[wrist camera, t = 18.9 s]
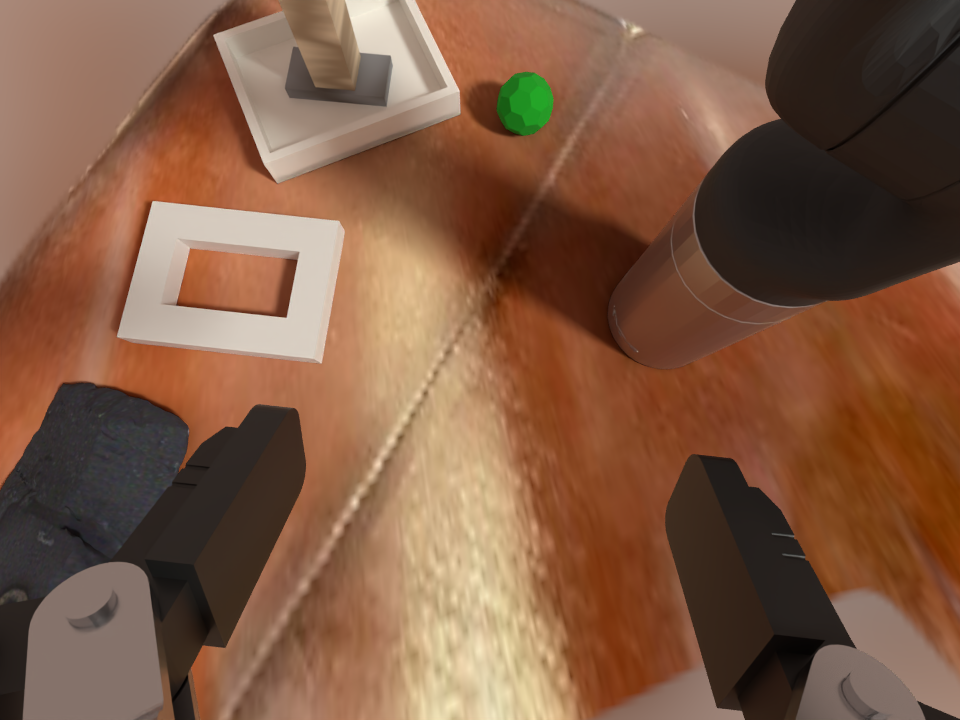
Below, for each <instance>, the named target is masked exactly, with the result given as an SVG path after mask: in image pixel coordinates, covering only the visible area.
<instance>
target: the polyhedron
mask: <svg viewBox="0 0 960 720" xmlns="http://www.w3.org/2000/svg"><path fill="white" fill-rule="evenodd" d="M552 109H553V96H552V92H551V89H550V87H549V85H548V84H547V82H546V81H545V79H544V78H542V77H540V76H539V75H537V74H535V73H531V72H523V73H517V74H514V75H513V76H512V77H511V78H510V79H509V80H508V81H507V82H506V83H505V84H504V85H503V86H502V87H501V88H500V92H499V96H498V101H497V113H498V115H499V118H500V120H501V122H502V123H503V125H504V126H505V128H506V129H507V130H509V131H511V132H513V133H515V134H518V135H522V136H524V135H530V134H534V133H535V132H537V131H538V130H539V129H540V128H542V127H543V126H544V125H545V124H546V123H547V122H548V121H549V118H550V115H551V112H552Z"/></svg>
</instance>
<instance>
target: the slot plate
mask: <svg viewBox="0 0 960 720" xmlns="http://www.w3.org/2000/svg"><path fill="white" fill-rule="evenodd" d="M344 234H345V231H344V229H343V227H342V226H341V224H340V222H339V221H333V220H324V219H315V218H305V217H296V216H287V215H278V214H268V213H259V212H250V211H240V210H231V209H222V208H213V207H203V206H194V205H185V204H175V203H166V202H157V201H153V202H152V206H151V209H150V213H149V217H148V221H147V225H146V228H145V232H144V236H143V240H142V244H141V247H140V251H139V255H138V259H137V262H136V266H135V270H134V274H133V278H132V281H131V285H130V289H129V293H128V296H127V300H126V304H125V308H124V312H123V315H122V319H121V323H120V327H119V331H118V334H117V337H118V338H121V339H124V340H127V341H130V342H132V343H139V344H148V345H157V346H166V347H175V348H185V349H194V350H203V351H212V352H221V353H230V354H239V355H248V356H257V357H266V358H275V359H284V360H293V361H302V362H311V363H320V364H322V359H323V353H324V347H325V342H326V336H327V330H328V325H329V319H330V313H331V308H332V302H333V296H334V291H335V285H336V280H337V274H338V268H339V263H340V257H341V251H342V246H343V240H344ZM190 248H192V249H201V250H211V251H220V252H229V253H238V254H248V255H257V256H266V257H275V258H284V259H294V260H298V263H297V268H296V273H295V278H294V283H293V288H292V293H291V298H290V304H289V309H288V314H287V318H283V317H273V316H264V315H255V314H246V313H237V312H228V311H219V310H210V309H201V308H191V307H182V306H176V304H177V300H178V296H179V292H180V288H181V284H182V280H183V275H184V271H185V267H186V263H187V259H188V255H189V251H190Z"/></svg>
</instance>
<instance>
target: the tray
mask: <svg viewBox="0 0 960 720" xmlns="http://www.w3.org/2000/svg"><path fill="white" fill-rule="evenodd" d="M345 2H346V5H347V9H348V13H349V16H350V20H351V23H352V27H353V31H354V34H355V38H356V41H357V45H358V48H359V52H360V53H368V54H379V55H390V56H391V59H392V64H393V68H392V75H391V81H390V88H389V94H388V101H387V107H384V106H373V105H362V104H352V103H341V102H330V101H319V100H308V99H297V98H289V96H288V94H287V92H286V90H285V84H286V79H287V74H288V69H289V64H290V59H291V54H292V49H293V47H298V45H297V43H296V40H295V38H294V36H293V33H292V31H291V29H290V26H289V24H288V21H287V19H286V17H285V14H284V12H283V11H281V12H278V13H275V14H272V15H269V16H266V17H263V18H260V19H257V20H254V21H252V22H249V23H246V24H243V25H240V26H237V27H234V28H231V29H228V30H225V31H223V32H220V33H217V34H214V35H213V36H214V39H215V41H216V44H217V46H218V49H219V51H220V54H221V56H222V59H223V62H224V64H225V67H226V69H227V72H228V74H229V77H230V79H231V82H232V84H233V87H234V90H235V92H236V95H237V97H238V100H239V102H240V105H241V107H242V110H243V113H244V115H245V118H246V120H247V123H248V125H249V128H250V130H251V133H252V135H253V138H254V141H255V143H256V146H257V148H258V151H259V153H260V156H261V158H262V161H263V163H264V165H265V167H266V168H267V169H268V171H269V172H270V174H271V175H272V177H273V178H274V179H275V181H276V182H277V184H278V183H281V182H283V181H286V180H288V179H291V178H294V177H296V176H299V175H302V174H304V173H307V172H310V171H312V170H315V169H318V168H320V167H323V166H326V165H328V164H331V163H333V162H336V161H339V160H341V159H344V158H347V157H349V156H352V155H355V154H357V153H360V152H363V151H365V150H368V149H371V148H373V147H376V146H378V145H381V144H384V143H386V142H389V141H392V140H394V139H397V138H400V137H402V136H405V135H408V134H410V133H413V132H416V131H418V130H421V129H423V128H426V127H429V126H431V125H434V124H437V123H439V122H442V121H445V120H447V119H450V118H453V117H455V116H458V115H460V91H459V89H458V87H457V85H456V83H455V81H454V79H453V77H452V75H451V73H450V71H449V69H448V67H447V65H446V63H445V61H444V59H443V57H442V55H441V53H440V51H439V49H438V47H437V44H436V42H435V40H434V38H433V36H432V34H431V32H430V30H429V28H428V26H427V24H426V22H425V20H424V18H423V16H422V14H421V12H420V10H419V8H418V6H417V4H416V2H415V0H345Z"/></svg>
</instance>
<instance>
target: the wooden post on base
mask: <svg viewBox="0 0 960 720" xmlns="http://www.w3.org/2000/svg"><path fill="white" fill-rule="evenodd" d="M279 3H280V5H281V7H282V10H283V12H284V14H285V17H286V19H287V21H288V24H289V26H290V29H291V31H292V33H293V36H294V38H295V40H296V43H297V45H298V47H293V49H292V54H291V59H290V64H289V69H288V74H287V79H286V84H285V90H286V92H287V94H288V96H289V98H297V99H308V100H319V101H330V102H341V103H352V104H362V105H373V106H384V107H387V101H388V94H389V88H390V81H391V75H392V68H393V64H392V59H391V56H390V55H379V54H368V53H360V52H359V48H358V45H357V41H356V38H355V34H354V31H353V27H352V23H351V20H350V16H349V13H348V9H347V5H346V2H345V0H279Z"/></svg>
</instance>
